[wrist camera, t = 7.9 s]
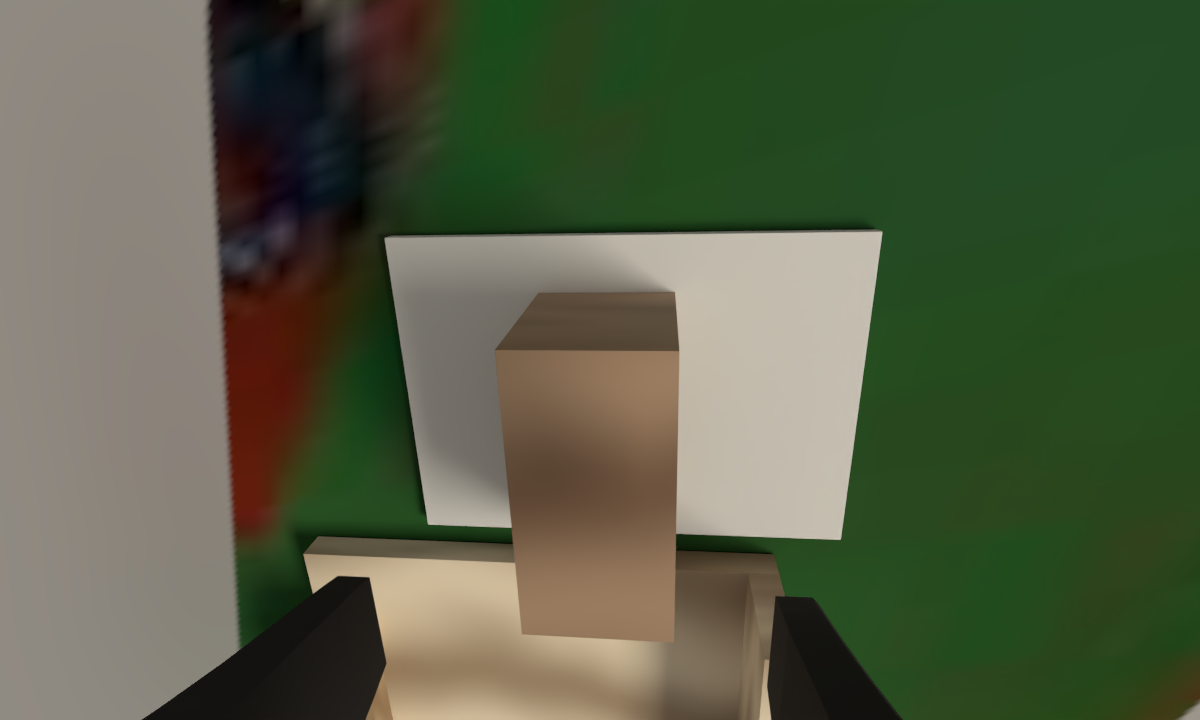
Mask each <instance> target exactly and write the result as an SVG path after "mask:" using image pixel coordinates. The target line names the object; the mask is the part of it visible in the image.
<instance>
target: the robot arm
mask: <svg viewBox="0 0 1200 720" xmlns="http://www.w3.org/2000/svg"><path fill="white" fill-rule="evenodd" d="M386 664H387V662H386V657H385V652H384V647H383V642H382V637H381V632H380V627H379V622H378V617H377V612H376V607H375V602H374V597H373V592H372V587H371V582H370V577H353V576H337V577H335V578H334V579H333V580H331V581H330V582H328V583H327V584H326V585H324V586H323V587H322V588H320V589H319V590H317V591H316V592H315V593H314V594H312V595H311V596H310V597H308V598H307V599H306V600H304V601H303V602H302V603H300V604H299V605H298V606H297V607H295V608H294V609H293V610H291V611H290V612H289V613H288V614H286V615H285V616H284V617H282V618H281V619H280V620H279V621H277V622H276V623H275V624H273V625H272V626H271V627H269V628H268V629H267V630H266V631H264V632H263V633H262V634H260V635H259V636H258V637H256V638H255V639H254V640H252V641H251V642H250V643H248V644H247V645H246V646H244V647H243V648H242V649H241V650H239V651H238V652H237V653H235V654H234V655H233V656H231V657H230V658H229V659H227V660H226V661H225V662H223V663H222V664H221V665H219V666H218V667H216V668H215V669H214V670H212V671H211V672H209V673H208V674H207V675H205V676H204V677H202V678H201V679H200V680H198V681H197V682H195V683H194V684H192V685H191V686H190V687H188V688H187V689H186V690H184V691H183V692H181V693H180V694H178V695H177V696H176V697H174V698H173V699H171V700H170V701H168V702H167V703H166V704H164V705H163V706H161V707H160V708H159V709H157V710H156V711H154V712H153V713H151V714H150V715H148V716H147V717H145V718H144V719H142V720H366V717H367V715H368V712H369V710H370V707H371V705H372V702H373V700H374V697H375V694H376V692H377V689H378V686H379V683H380V680H381V678H382V675H383V672H384V669H385V667H386ZM767 690H768V698H769V706H770V714H771V720H903V719H902V718H901V717H900V716H899V714H898V713H897V712H896V710H895V709H894V708H893V707H892V705H891V704H890V703H889V701H888V700H887V699H886V698H885V696H884V695H883V694H882V693H881V691H880V690H879V689H878V687H877V686H876V685H875V684H874V682H873V681H872V680H871V678H870V677H869V676H868V674H867V673H866V671H865V670H864V669H863V667H862V666H861V665H860V663H859V662H858V661H857V659H856V658H855V656H854V655H853V654H852V652H851V651H850V649H849V648H848V647H847V645H846V644H845V642H844V641H843V639H842V638H841V637H840V635H839V634H838V632H837V631H836V629H835V628H834V626H833V625H832V623H831V622H830V621H829V619H828V618H827V616H826V615H825V613H824V612H823V610H822V608H821V607H820V605H819V604H818V603H817V602H816V601H815V600H814V599H813V598H807V597H786V596H775V606H774V617H773V627H772V638H771V649H770V660H769V670H768V681H767Z"/></svg>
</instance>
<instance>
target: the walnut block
mask: <svg viewBox="0 0 1200 720" xmlns="http://www.w3.org/2000/svg"><path fill="white" fill-rule="evenodd" d="M495 359H496V370H497V380H498V390H499V401H500V411H501V422H502V432H503V443H504V453H505V464H506V474H507V484H508V495H509V505H510V516H511V526H512V537H513V547H514V557H515V568H516V578H517V589H518V599H519V610H520V620H521V631H522V634H523V635H542V636H560V637H579V638H597V639H616V640H634V641H652V642H671V643H674V617H675V563H676V510H677V457H678V403H679V338H678V325H677V311H676V298H675V292H612V293H538V294H537V295H536V297H535V298H534V299H533V301H532V302H531V303H530V305H529V306H528V307H527V308H526V310H525V311H524V312H523V314H522V315H521V316H520V318H519V319H518V320H517V322H516V323H515V324H514V325H513V327H512V328H511V329H510V331H509V332H508V333H507V335H506V336H505V337H504V339H503V340H502V341H501V342H500V344H499V345H498V346H497V348H496V349H495Z"/></svg>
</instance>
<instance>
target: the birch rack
mask: <svg viewBox="0 0 1200 720" xmlns="http://www.w3.org/2000/svg"><path fill="white" fill-rule="evenodd" d="M303 555H304V559H305V563H306V567H307V571H308V575H309V580H310V584H311V588H312V592H313V594H314V593H315V592H316V591H317V590H319V589H320V588H322V587H323V586H324V585H326V584H327V583H328V582H330V581H331V580H333V579H334V578H335V577H337V576H353V577H370V582H371V587H372V592H373V597H374V602H375V607H376V612H377V617H378V622H379V627H380V632H381V637H382V642H383V647H384V652H385V657H386V662H387V664H386V667H385V669H384V672H383V673H384V678H385V682H386V687H387V692H388V697H389V702H390V707H391V712H392V717H393V720H771V714H770V706H769V698H768V690H767V681H768V670H769V660H770V649H771V638H772V627H773V617H774V606H775V596H785V595H784V591H783V587H782V583H781V579H780V576H779V572H778V568H777V564H776V560H775V557H774V554H752V553H726V552H701V551H676V563H675V617H674V643H671V642H652V641H634V640H616V639H597V638H579V637H560V636H542V635H523V634H522V631H521V620H520V610H519V599H518V589H517V578H516V568H515V557H514V547H513V544H499V543H474V542H448V541H423V540H398V539H373V538H347V537H322V536H318V537H317V538H316V539H315V541H314V542H313V543H312V544H311V545H310V547H309V548H308V549H307V550H306V551H305V552H304V554H303Z"/></svg>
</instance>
